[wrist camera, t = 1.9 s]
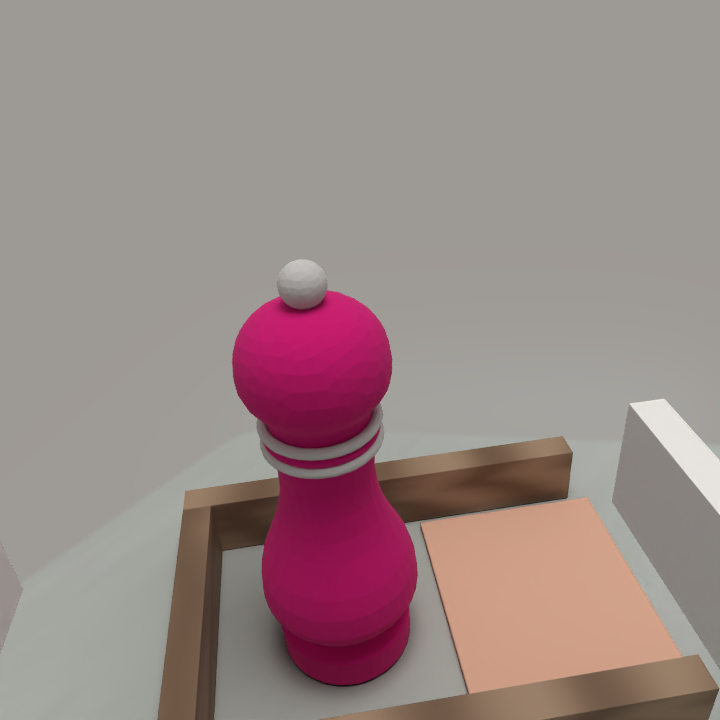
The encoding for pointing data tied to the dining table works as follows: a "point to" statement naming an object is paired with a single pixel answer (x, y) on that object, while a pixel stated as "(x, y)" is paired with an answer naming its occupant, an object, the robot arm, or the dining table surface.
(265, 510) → the shallow wooden tray
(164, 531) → the dining table surface
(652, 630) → the front pad
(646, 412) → the robot arm
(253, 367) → the pepper mill
